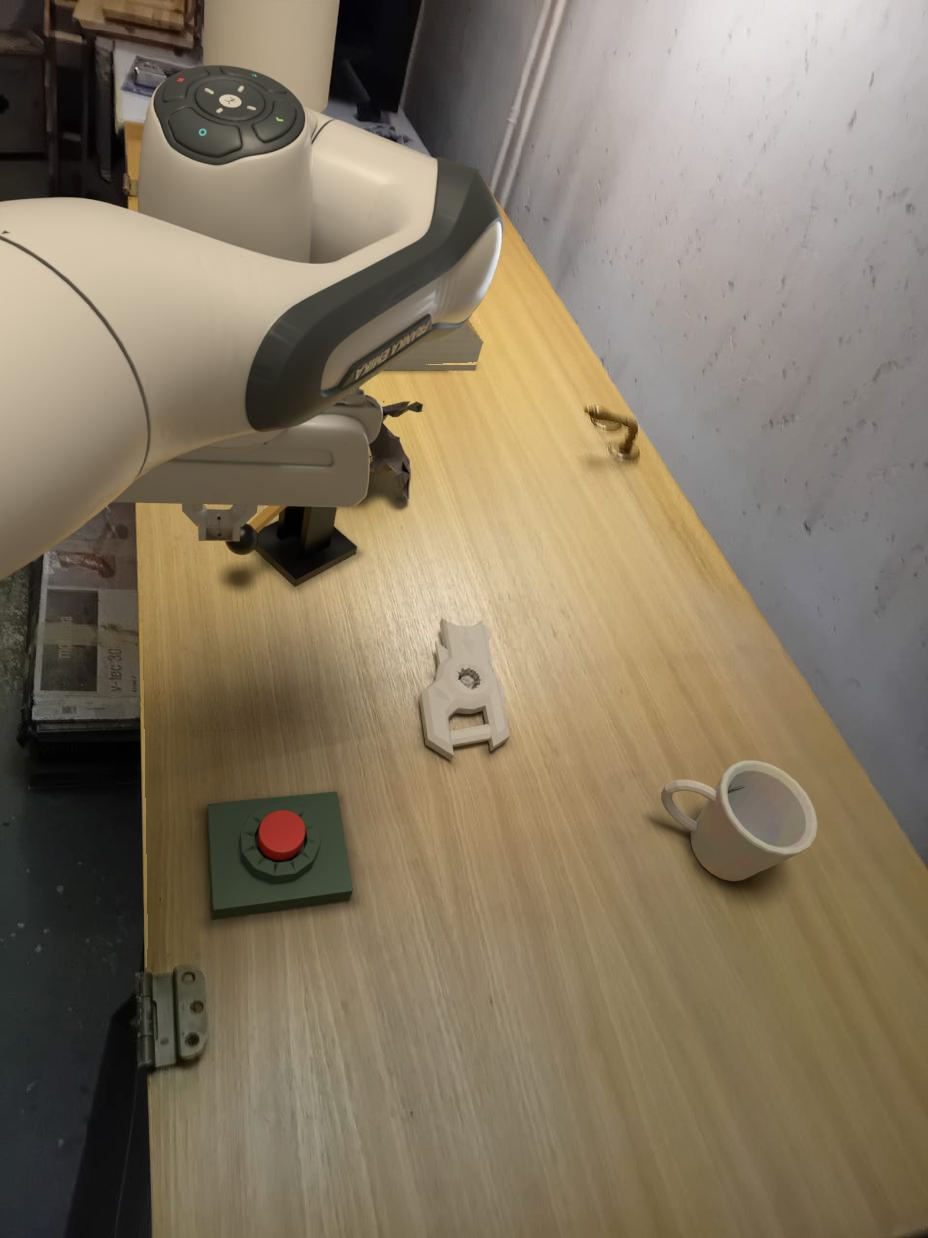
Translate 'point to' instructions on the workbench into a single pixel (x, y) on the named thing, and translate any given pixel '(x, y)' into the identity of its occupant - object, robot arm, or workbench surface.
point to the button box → (272, 884)
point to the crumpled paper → (392, 448)
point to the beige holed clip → (463, 691)
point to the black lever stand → (304, 542)
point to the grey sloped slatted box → (443, 352)
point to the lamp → (276, 42)
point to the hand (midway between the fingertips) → (218, 534)
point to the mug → (746, 819)
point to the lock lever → (253, 531)
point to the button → (281, 835)
